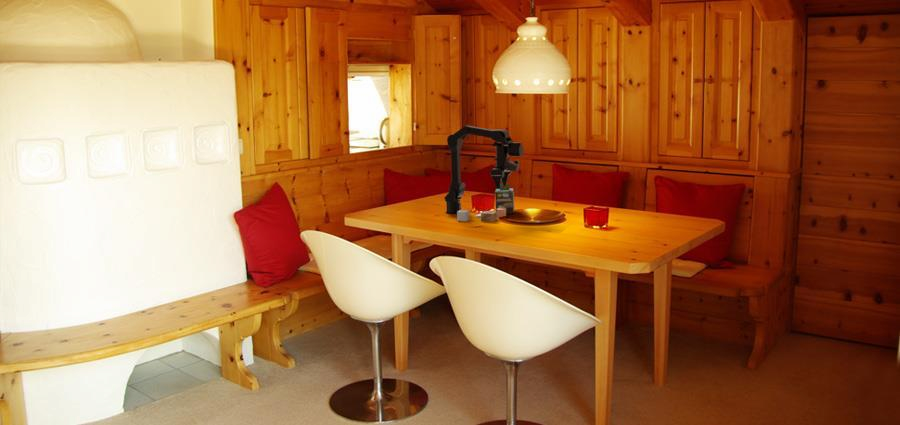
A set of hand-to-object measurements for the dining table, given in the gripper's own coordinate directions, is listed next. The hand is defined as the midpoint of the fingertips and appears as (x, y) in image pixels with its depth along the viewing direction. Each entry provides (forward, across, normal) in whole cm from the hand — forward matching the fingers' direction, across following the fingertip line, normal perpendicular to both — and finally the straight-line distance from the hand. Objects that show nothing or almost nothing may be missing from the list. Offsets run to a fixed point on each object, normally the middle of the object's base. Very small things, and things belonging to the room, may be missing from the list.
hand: (501, 187), depth 429 cm
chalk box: (+14, +9, +1) cm, 17 cm away
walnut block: (+14, -12, +2) cm, 19 cm away
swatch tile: (+14, -4, +8) cm, 17 cm away
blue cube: (+14, -15, +14) cm, 25 cm away
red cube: (+14, -2, -1) cm, 14 cm away
